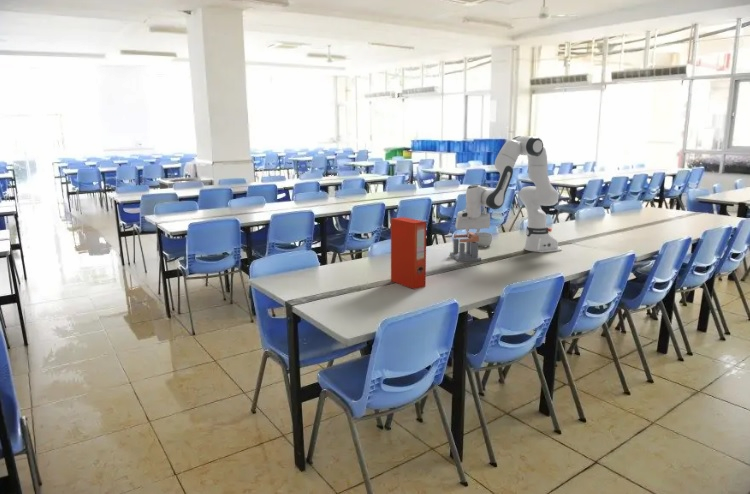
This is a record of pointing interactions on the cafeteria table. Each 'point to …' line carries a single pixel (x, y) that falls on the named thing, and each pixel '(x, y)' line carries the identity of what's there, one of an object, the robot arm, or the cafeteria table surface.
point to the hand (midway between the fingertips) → (472, 236)
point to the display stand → (470, 252)
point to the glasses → (473, 237)
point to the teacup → (484, 239)
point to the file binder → (408, 252)
